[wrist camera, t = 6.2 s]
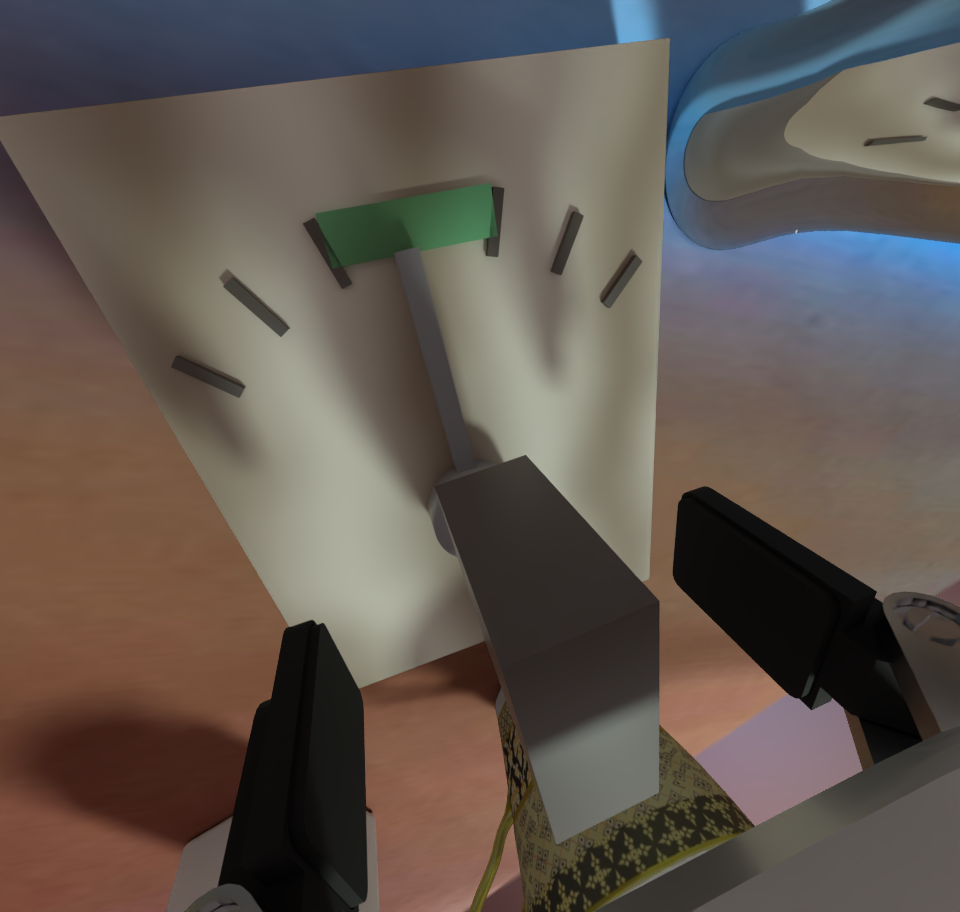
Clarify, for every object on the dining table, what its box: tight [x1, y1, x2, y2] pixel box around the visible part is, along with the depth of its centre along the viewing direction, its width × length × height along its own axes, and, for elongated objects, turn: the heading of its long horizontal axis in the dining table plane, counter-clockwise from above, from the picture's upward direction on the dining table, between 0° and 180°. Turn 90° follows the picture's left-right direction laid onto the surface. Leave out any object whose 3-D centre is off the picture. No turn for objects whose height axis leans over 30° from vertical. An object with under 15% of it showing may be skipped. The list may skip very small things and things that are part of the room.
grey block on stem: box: [393, 247, 659, 844], centre depth 9 cm, size 3×11×8 cm, turn 13°
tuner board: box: [0, 38, 670, 688], centre depth 14 cm, size 15×19×2 cm
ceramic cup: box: [470, 688, 755, 912], centre depth 19 cm, size 13×10×10 cm
